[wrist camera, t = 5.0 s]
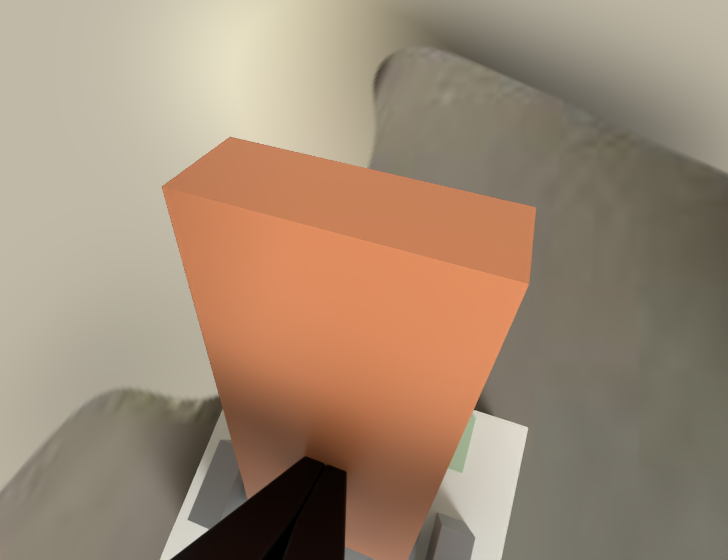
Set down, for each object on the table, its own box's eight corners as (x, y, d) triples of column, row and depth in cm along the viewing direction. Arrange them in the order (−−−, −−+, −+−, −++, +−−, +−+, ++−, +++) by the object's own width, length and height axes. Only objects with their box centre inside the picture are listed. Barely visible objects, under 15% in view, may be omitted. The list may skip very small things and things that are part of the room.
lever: (401, 596, 11) (550, 297, 4) (247, 530, 12) (140, 187, 5) (416, 531, 12) (554, 207, 5) (274, 476, 13) (220, 131, 6)
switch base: (446, 678, 14) (469, 832, 9) (202, 568, 16) (91, 637, 10) (501, 430, 17) (548, 425, 11) (284, 358, 18) (229, 322, 13)
